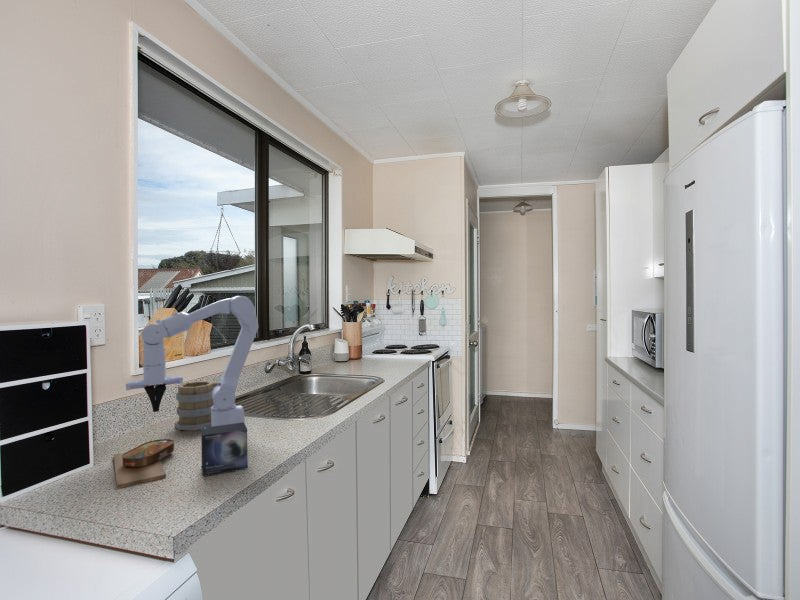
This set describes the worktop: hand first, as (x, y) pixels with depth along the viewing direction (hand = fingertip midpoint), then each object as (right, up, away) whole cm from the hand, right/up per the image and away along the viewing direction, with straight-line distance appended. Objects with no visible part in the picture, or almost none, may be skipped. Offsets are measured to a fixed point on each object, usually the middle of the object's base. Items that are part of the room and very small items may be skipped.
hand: (155, 411), depth 131 cm
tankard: (+5, -10, +23) cm, 26 cm away
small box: (+27, -11, -17) cm, 34 cm away
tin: (+9, -9, -12) cm, 17 cm away
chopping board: (+4, -11, -15) cm, 19 cm away
